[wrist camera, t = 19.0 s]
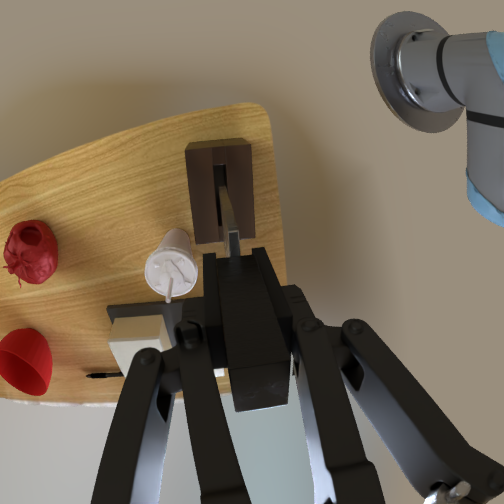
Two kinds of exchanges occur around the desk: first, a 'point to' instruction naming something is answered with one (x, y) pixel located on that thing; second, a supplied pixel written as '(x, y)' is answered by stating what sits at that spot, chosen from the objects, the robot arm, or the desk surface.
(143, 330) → the cake
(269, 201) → the desk surface
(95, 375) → the pen
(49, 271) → the pomegranate
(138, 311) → the cake board
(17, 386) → the ceramic cup
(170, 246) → the smoothie
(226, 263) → the knife
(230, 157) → the knife block
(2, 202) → the desk surface
